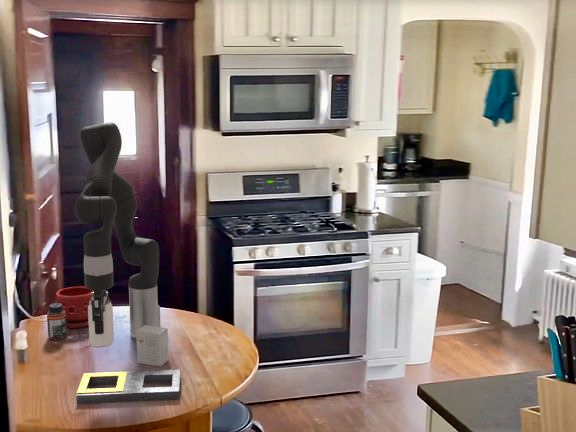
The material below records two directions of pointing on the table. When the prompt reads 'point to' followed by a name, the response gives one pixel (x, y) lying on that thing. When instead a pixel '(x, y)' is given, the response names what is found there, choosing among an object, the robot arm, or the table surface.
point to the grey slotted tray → (128, 386)
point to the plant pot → (75, 305)
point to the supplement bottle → (56, 322)
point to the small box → (152, 345)
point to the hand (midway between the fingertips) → (101, 328)
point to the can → (108, 334)
